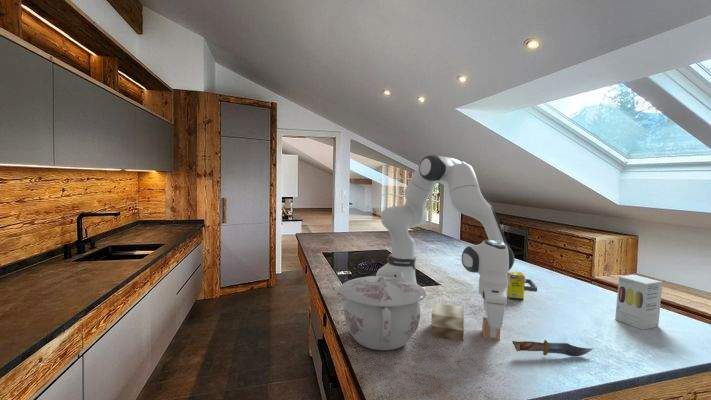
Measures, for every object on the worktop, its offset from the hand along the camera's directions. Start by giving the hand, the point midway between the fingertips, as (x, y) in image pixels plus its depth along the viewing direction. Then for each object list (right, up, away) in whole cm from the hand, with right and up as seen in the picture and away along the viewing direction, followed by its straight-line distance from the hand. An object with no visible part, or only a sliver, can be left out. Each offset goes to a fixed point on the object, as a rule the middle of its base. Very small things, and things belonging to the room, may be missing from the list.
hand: (491, 329), depth 111 cm
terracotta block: (0, -2, 0) cm, 2 cm away
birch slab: (-14, +2, +2) cm, 14 cm away
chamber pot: (-37, -2, -4) cm, 38 cm away
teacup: (+35, +1, +53) cm, 64 cm away
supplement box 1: (+25, 0, +36) cm, 44 cm away
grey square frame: (+36, +1, +54) cm, 65 cm away
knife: (+13, -3, -13) cm, 18 cm away
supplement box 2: (+59, -2, +12) cm, 60 cm away
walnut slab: (-14, -2, +2) cm, 14 cm away
